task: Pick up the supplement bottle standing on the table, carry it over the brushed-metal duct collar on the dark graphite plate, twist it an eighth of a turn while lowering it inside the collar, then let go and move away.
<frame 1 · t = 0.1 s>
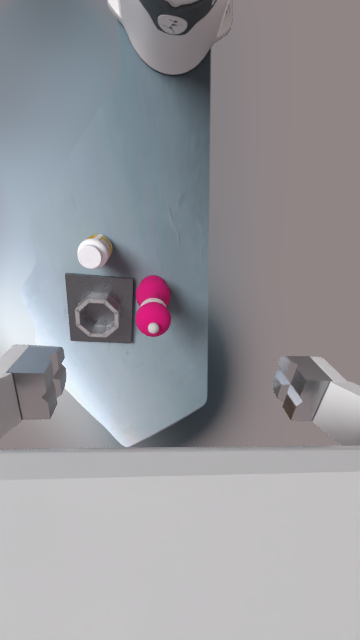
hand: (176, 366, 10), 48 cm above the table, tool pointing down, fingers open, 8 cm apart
supplement bottle: (99, 247, 54), on the table
duct collar: (101, 309, 59), on the table
pepper mill: (153, 288, 59), on the table
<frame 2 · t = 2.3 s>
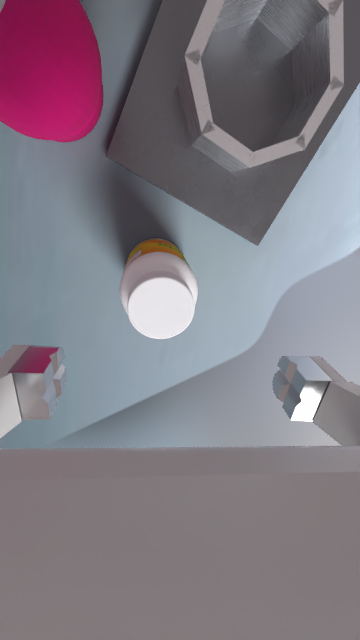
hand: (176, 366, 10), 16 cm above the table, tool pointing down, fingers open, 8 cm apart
supplement bottle: (156, 267, 24), on the table
duct collar: (239, 99, 19), on the table
pepper mill: (57, 88, 18), on the table
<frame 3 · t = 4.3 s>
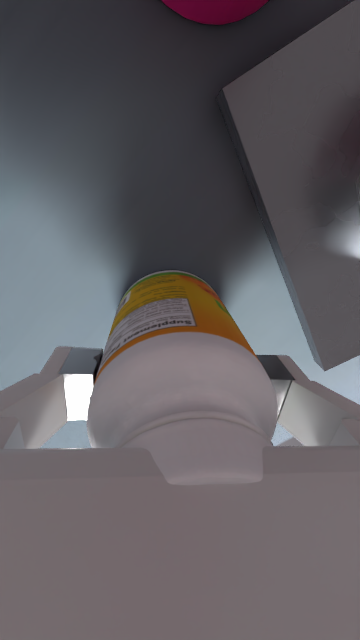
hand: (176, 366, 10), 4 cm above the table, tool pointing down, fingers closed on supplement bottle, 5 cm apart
supplement bottle: (170, 317, 14), on the table, touching gripper
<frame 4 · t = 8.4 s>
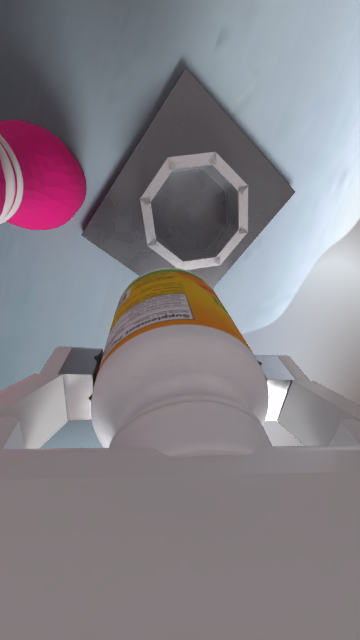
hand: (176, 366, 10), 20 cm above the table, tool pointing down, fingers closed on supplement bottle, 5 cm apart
supplement bottle: (168, 313, 14), point 15 cm above the table, touching gripper
duct collar: (187, 212, 26), on the table
pepper mill: (51, 182, 24), on the table
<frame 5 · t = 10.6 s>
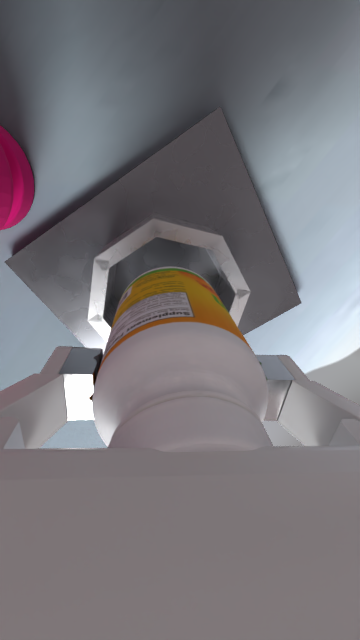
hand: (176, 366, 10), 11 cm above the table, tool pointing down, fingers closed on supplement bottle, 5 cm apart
supplement bottle: (168, 311, 14), point 6 cm above the table, touching gripper
duct collar: (165, 280, 19), on the table
when the fingers open (7 cm above the table, at t = 12.6 s): supplement bottle stays where it is, resting on duct collar.
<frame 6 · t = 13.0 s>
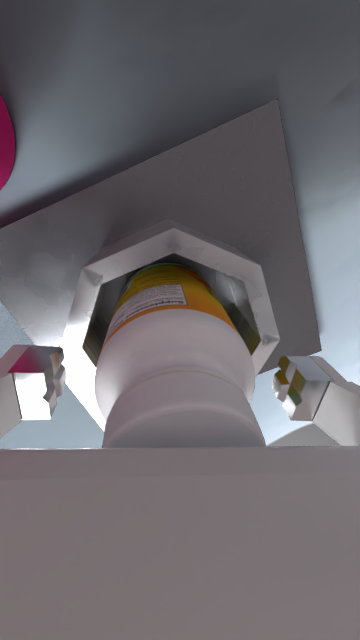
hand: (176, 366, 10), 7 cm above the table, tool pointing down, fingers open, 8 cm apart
supplement bottle: (166, 306, 15), point 1 cm above the table, touching duct collar
duct collar: (168, 301, 16), on the table
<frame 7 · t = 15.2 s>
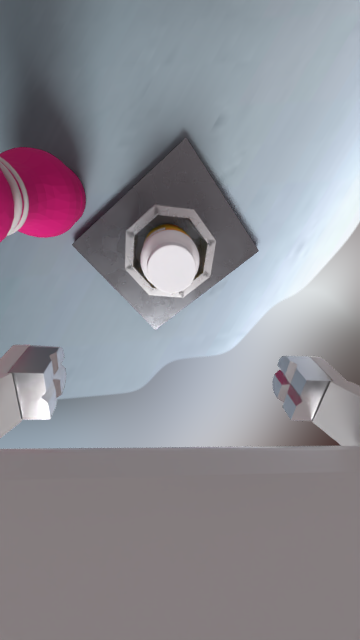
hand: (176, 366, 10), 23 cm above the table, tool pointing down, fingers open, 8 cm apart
supplement bottle: (167, 247, 30), point 1 cm above the table, touching duct collar
duct collar: (168, 246, 30), on the table
pepper mill: (56, 195, 27), on the table
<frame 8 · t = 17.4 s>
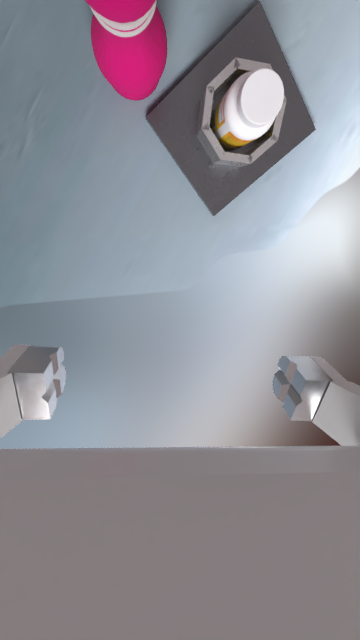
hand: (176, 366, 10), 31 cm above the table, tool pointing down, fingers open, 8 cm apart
supplement bottle: (232, 124, 32), point 1 cm above the table, touching duct collar
duct collar: (231, 125, 33), on the table
pepper mill: (133, 66, 29), on the table
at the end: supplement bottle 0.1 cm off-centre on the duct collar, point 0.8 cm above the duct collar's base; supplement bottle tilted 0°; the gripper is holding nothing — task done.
